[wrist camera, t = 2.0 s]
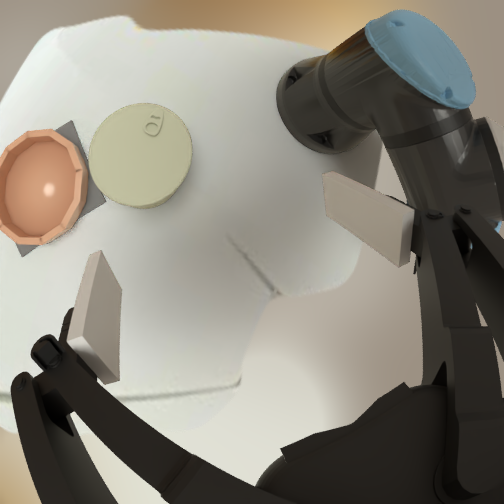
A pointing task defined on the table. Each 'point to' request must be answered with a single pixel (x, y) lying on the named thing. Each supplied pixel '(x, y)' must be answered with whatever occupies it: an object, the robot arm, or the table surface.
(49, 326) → the table surface
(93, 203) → the mat
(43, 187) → the bowl
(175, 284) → the table surface
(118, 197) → the can
